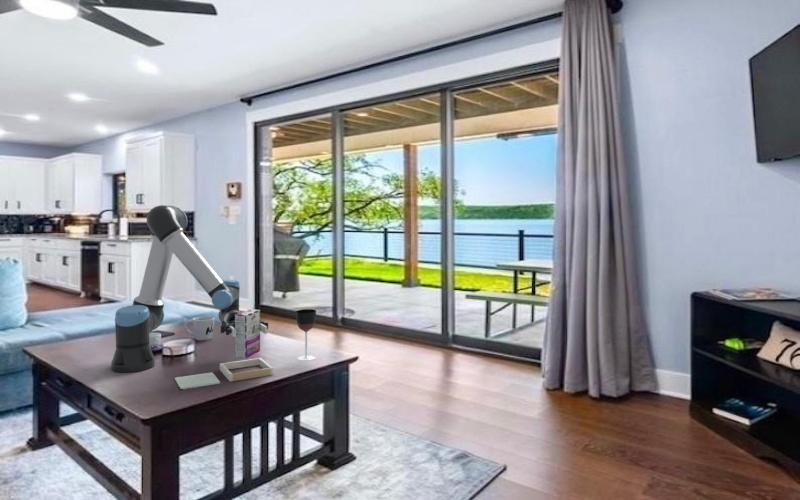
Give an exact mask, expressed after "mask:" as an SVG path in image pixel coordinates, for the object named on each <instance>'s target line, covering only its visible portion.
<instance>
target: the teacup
mask: <svg viewBox="0 0 800 500" xmlns="http://www.w3.org/2000/svg"><path fill="white" fill-rule="evenodd" d="M161 341H162V338H161V334H160V333H149V343H150V347H152V346H157V347H158V346H159V345H160V343H161ZM152 348H153V347H152Z"/></svg>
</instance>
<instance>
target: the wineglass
mask: <svg viewBox="0 0 800 500" xmlns="http://www.w3.org/2000/svg"><path fill="white" fill-rule="evenodd" d="M295 315H296V323H297V326H298V328H299V329H300V330H301V331H302V332H304V334H305V335H304V336H305V337H304V339H305V341H304V342H305V347H304V350H305V354H304V355H301V356H298V357H297V358H296V359H297V360H299V361H312V360H314V359H316V356H314V355H308V332H309V331H310V330H312V329H313V328H314V327H315V325H316V319H317V310H316V309H311V308H310V309H309V308H308V309H307V308H306V309H304V308H303V309H298V310H296V312H295ZM313 356H314V357H313Z"/></svg>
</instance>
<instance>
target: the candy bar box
mask: <svg viewBox="0 0 800 500" xmlns="http://www.w3.org/2000/svg"><path fill="white" fill-rule="evenodd" d="M260 317H261V309H247V310H244V311H240V313H238V314H235V329H236V337H234V358H237V359H249V358H251V356H254V355H255V354H257V353H259V352H260V351H261V331H260V321H261V318H260Z"/></svg>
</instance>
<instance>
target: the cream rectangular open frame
mask: <svg viewBox="0 0 800 500" xmlns="http://www.w3.org/2000/svg"><path fill="white" fill-rule="evenodd" d="M255 366H260V367H261V368H260V369H254V370H253V369H252V370H247V371H240V372H239V371H238V372H234V373H233V372H232V371H230V370H233V369H240V368H248V367H255ZM219 371H220V372H221V373H222V374H223V376H224V377H225V378H226V379H227V380H228V381H229V382H234V381H235V382H236V381H241V380H248V379H254V378H260V377H266V376H274V374H275V373H274V367H273V366H272V365H270V364H269V363H268V362H267V361H266V360H264V359H263V358H262V357H258V358H250V359H249V358H248V359H243V360H235V361H228V362H221V363H219Z"/></svg>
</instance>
